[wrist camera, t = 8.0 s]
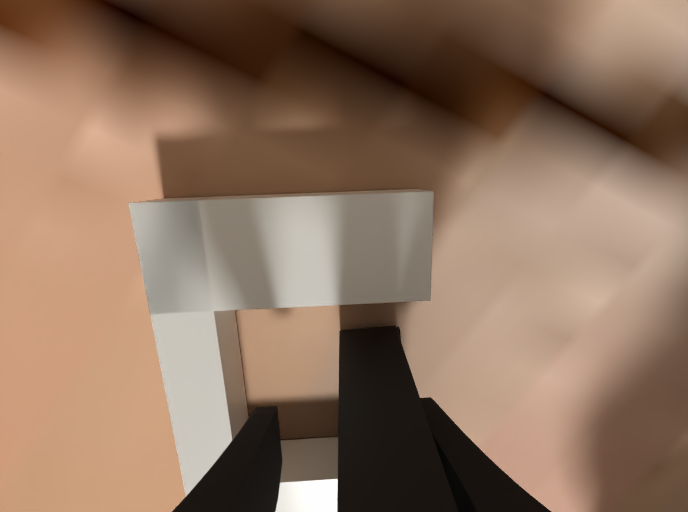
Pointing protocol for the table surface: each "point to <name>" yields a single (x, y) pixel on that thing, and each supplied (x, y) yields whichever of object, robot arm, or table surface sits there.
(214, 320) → the groove holder
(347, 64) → the table surface
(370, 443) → the ink cartridge
